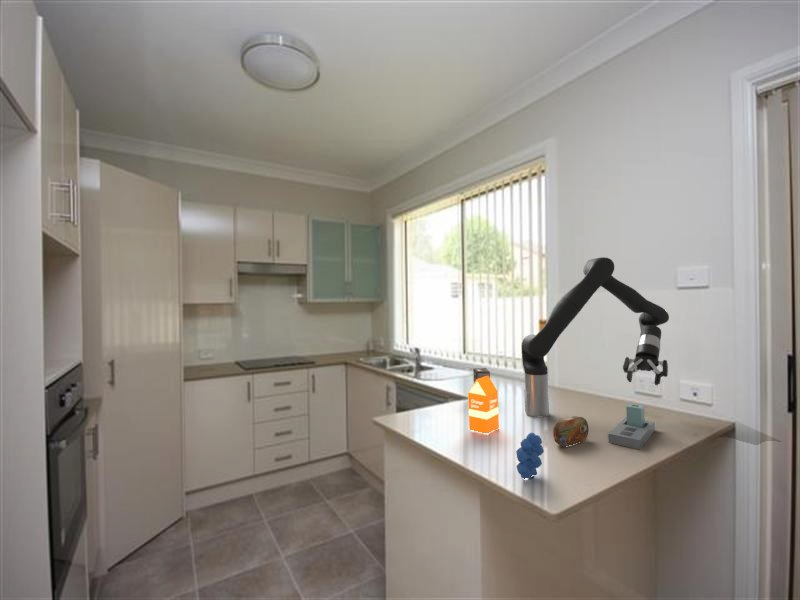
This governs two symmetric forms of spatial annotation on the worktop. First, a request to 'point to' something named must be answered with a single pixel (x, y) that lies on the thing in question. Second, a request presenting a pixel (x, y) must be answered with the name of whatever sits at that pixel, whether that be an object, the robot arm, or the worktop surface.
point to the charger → (635, 415)
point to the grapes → (529, 455)
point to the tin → (570, 431)
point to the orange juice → (483, 406)
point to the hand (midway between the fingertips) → (642, 382)
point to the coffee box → (480, 373)
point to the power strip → (631, 434)
